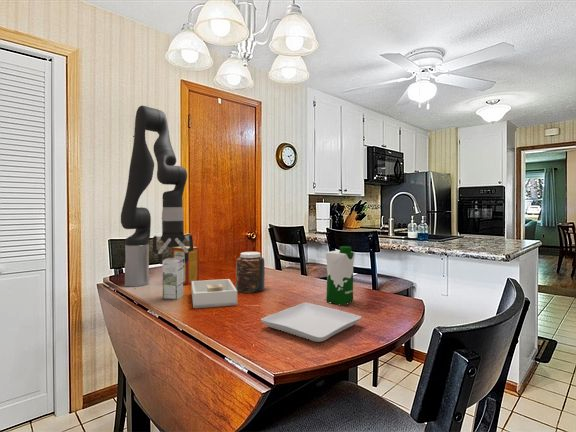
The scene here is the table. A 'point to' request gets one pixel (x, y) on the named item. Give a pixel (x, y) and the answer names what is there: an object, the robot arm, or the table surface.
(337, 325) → the salad plate
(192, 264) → the baking soda box
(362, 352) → the table surface
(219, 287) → the birch cube
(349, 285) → the milk carton
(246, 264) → the jar
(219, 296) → the tote
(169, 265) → the syrup box
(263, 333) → the table surface
